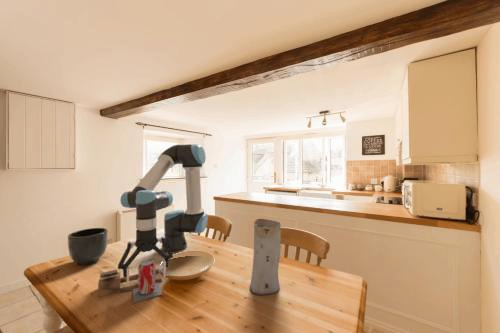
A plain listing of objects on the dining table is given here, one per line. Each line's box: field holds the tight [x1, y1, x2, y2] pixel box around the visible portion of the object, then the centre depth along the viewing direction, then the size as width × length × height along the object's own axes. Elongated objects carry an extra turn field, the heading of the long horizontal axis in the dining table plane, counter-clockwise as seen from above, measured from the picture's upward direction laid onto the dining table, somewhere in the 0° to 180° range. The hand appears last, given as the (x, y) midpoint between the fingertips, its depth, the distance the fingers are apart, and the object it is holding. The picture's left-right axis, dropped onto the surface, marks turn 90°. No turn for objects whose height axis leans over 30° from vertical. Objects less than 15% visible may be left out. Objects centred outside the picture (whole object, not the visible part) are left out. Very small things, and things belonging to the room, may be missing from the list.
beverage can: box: [137, 259, 156, 294], centre depth 89 cm, size 6×6×12 cm
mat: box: [132, 282, 163, 304], centre depth 89 cm, size 10×10×1 cm
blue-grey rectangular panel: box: [99, 269, 120, 278], centre depth 89 cm, size 7×1×8 cm
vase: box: [249, 218, 282, 296], centre depth 92 cm, size 13×14×28 cm
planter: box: [67, 227, 108, 266], centre depth 118 cm, size 17×17×16 cm
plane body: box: [97, 269, 163, 297], centre depth 95 cm, size 24×10×5 cm, turn 120°
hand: (146, 279), depth 89 cm, fingers open, 13 cm apart
